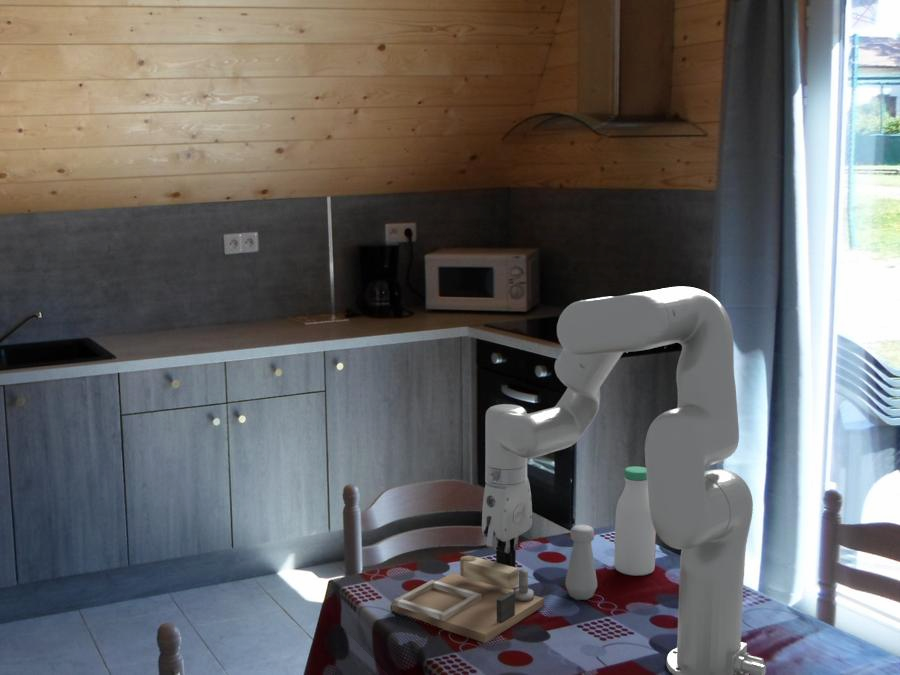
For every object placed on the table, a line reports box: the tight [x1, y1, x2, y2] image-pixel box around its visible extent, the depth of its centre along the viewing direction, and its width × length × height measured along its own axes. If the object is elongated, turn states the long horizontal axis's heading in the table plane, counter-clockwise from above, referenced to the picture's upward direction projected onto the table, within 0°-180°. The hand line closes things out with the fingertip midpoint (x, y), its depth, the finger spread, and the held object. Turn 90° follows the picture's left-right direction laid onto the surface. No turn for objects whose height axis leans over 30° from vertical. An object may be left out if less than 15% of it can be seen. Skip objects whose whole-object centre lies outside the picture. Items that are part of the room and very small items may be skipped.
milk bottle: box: [613, 465, 657, 577], centre depth 203 cm, size 8×8×20 cm
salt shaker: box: [565, 524, 598, 601], centre depth 192 cm, size 6×6×13 cm
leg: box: [459, 555, 520, 590], centre depth 192 cm, size 12×3×3 cm, turn 53°
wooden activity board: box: [391, 568, 545, 644], centre depth 186 cm, size 20×18×6 cm
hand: (505, 570), depth 194 cm, fingers closed
